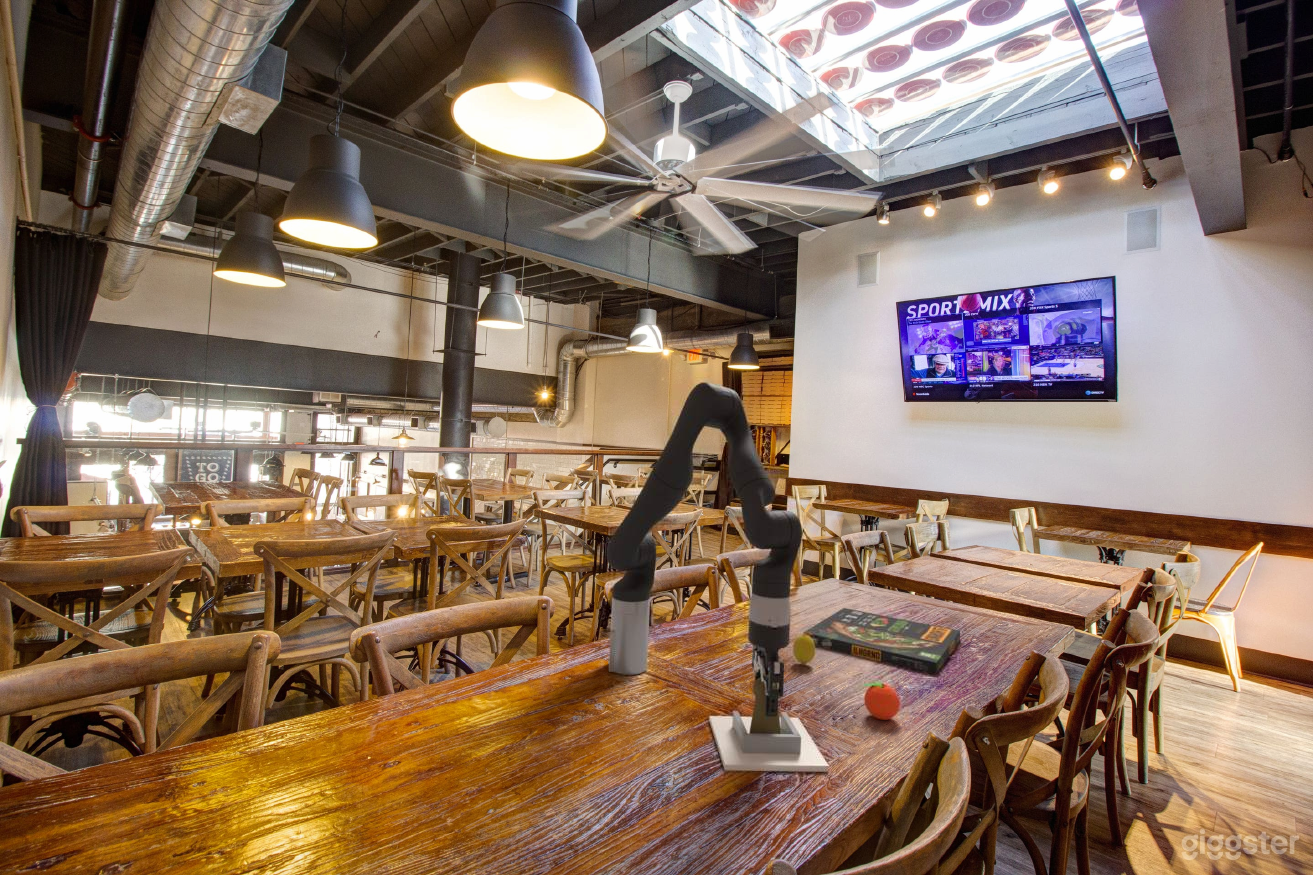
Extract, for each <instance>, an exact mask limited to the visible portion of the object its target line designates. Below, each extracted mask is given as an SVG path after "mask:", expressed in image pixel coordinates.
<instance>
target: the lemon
mask: <svg viewBox="0 0 1313 875" xmlns="http://www.w3.org/2000/svg"><path fill="white" fill-rule="evenodd" d="M792 652H793V653H792V654H793V657H794V658H795V660H796V661H797V662H800V664H801V665H803V666H805V665H806V664H808V663H810V662H812V661H813V660H814V658H815V655H816V646H815V644H814V641H813V640H812V638H811V637H809V636H808V635H806V634H805V633H804V632H803V633H802V634H799V635H798V636H796V637H795V639H794V641H793V645H792Z"/></svg>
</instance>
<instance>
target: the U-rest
mask: <svg viewBox="0 0 1313 875" xmlns="http://www.w3.org/2000/svg"><path fill="white" fill-rule="evenodd" d="M708 718H709V719H708V720H709V721H708V722H709V725H710V727H711V731H712V733H713V737H714V740H715V743H716V744H715V745H716V748H717V750H718V754H719V757H720V759H721V764H722V767H723V769H724V771H738V772H739V771H743V772H745V771H746V772H747V771H749V772H752V771H753V772H755V771H756V772H812V773H814V772H817V773H818V772H821V773H822V772H824V773H829V770H830V765H829V764H828V762H827V761H826V760H825V758H824V756H823V754H822V753H821V751H820V749H819V748H818V746H817V745H816V743H815V742H814V741H813V739H812V737H811V736H810V734H809V733H808V731H807V730H806V728H805V726H804V725H803V724H802V723H803V722H801V720H800V718H799V717H790V716H789V714H788V713H787V711H781V712H780V716H779V719H780V731H781V734H749V732H750V726H751V721H752V716H741V714H740V713H739V711H738V710H732V716H731V715H730V716H727V715H726V716H725V715H724V716H723V715H722V716H721V715H709V717H708Z"/></svg>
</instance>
